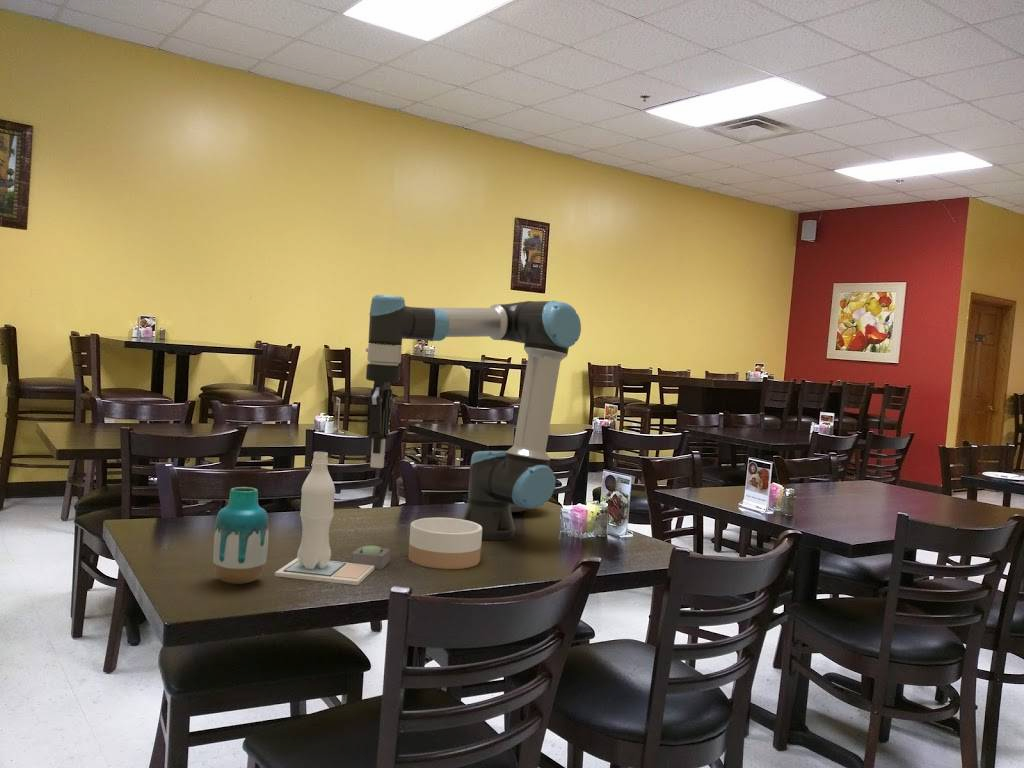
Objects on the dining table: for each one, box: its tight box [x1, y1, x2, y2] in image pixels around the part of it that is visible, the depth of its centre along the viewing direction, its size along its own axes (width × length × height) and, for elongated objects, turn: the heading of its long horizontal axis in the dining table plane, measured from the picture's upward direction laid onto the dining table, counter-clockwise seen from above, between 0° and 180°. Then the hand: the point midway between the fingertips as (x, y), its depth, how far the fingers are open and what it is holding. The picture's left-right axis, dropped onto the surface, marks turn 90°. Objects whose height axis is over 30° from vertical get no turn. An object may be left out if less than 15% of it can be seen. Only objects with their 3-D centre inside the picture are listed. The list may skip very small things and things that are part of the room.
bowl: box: [408, 517, 482, 570], centre depth 200 cm, size 17×17×8 cm
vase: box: [212, 486, 270, 585], centre depth 170 cm, size 11×11×19 cm
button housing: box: [350, 545, 391, 571], centre depth 190 cm, size 7×7×3 cm
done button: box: [362, 544, 381, 555], centre depth 190 cm, size 4×4×4 cm
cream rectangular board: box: [274, 557, 376, 586], centre depth 181 cm, size 18×13×1 cm
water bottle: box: [296, 451, 336, 569], centre depth 181 cm, size 7×7×25 cm
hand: (376, 467), depth 190 cm, fingers closed
